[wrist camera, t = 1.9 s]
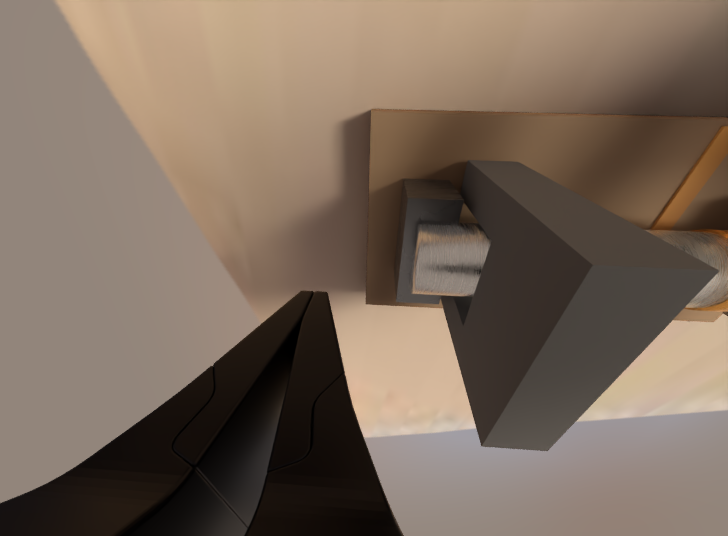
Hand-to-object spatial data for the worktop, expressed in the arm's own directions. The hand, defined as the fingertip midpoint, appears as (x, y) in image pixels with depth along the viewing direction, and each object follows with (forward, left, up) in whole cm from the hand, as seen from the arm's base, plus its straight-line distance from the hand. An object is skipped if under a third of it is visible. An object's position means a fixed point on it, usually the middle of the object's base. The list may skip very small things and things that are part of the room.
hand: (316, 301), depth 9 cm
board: (-11, 0, -7) cm, 13 cm away
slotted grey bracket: (-6, 0, -5) cm, 8 cm away
